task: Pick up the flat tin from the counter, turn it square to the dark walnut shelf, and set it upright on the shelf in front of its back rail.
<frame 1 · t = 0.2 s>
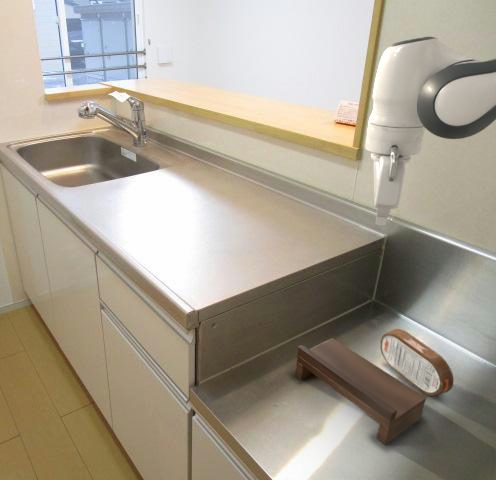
hand: (379, 215, 83), 31 cm above the worktop, tool pointing down, fingers open, 8 cm apart
shelf: (353, 396, 84), on the worktop
tin: (408, 378, 88), on the worktop
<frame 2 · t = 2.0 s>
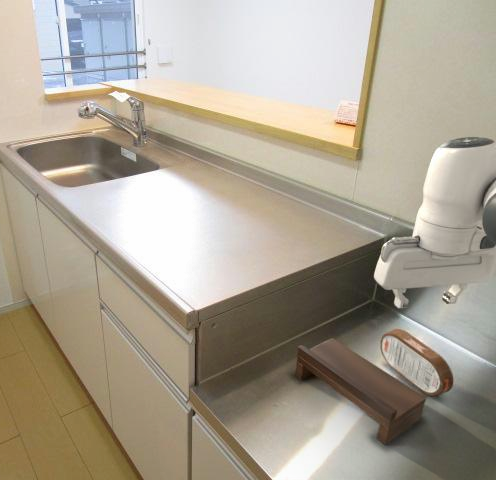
hand: (424, 304, 82), 17 cm above the worktop, tool pointing down, fingers open, 8 cm apart
nothing on the worktop moved.
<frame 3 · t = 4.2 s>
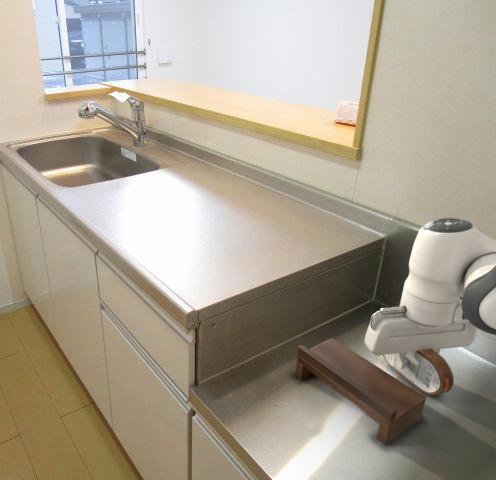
hand: (412, 365, 87), 3 cm above the worktop, tool pointing down, fingers closed on tin, 3 cm apart
tin: (408, 378, 88), on the worktop, touching gripper
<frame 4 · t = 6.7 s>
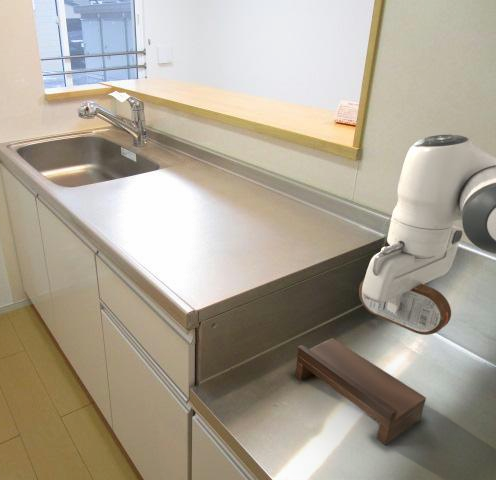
hand: (400, 307, 79), 18 cm above the worktop, tool pointing down, fingers closed on tin, 3 cm apart
tin: (396, 323, 81), point 14 cm above the worktop, touching gripper
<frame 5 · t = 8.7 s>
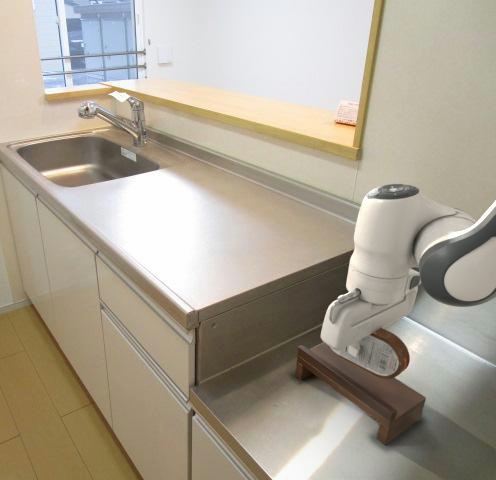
hand: (362, 349, 80), 11 cm above the worktop, tool pointing down, fingers closed on tin, 3 cm apart
tin: (358, 365, 81), point 7 cm above the worktop, touching gripper
when the fingers open (8 cm above the worktop, at t = 9.7 s): tin stays where it is, resting on shelf.
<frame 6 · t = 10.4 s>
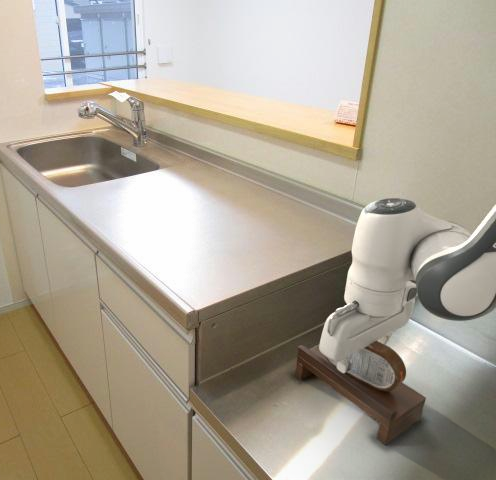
hand: (360, 360, 81), 8 cm above the worktop, tool pointing down, fingers open, 8 cm apart
tin: (356, 376, 82), point 5 cm above the worktop, touching shelf
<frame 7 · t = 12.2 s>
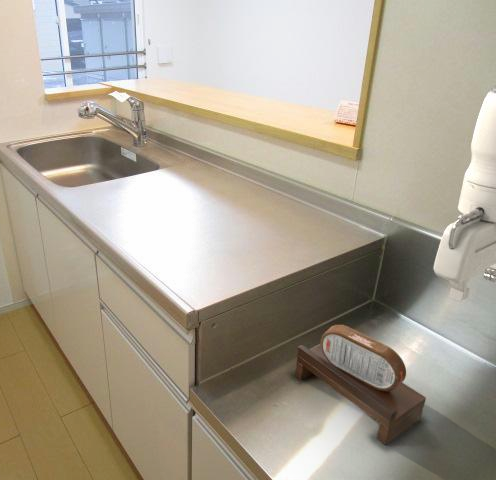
hand: (475, 288, 67), 27 cm above the worktop, tool pointing down, fingers open, 8 cm apart
nothing on the worktop moved.
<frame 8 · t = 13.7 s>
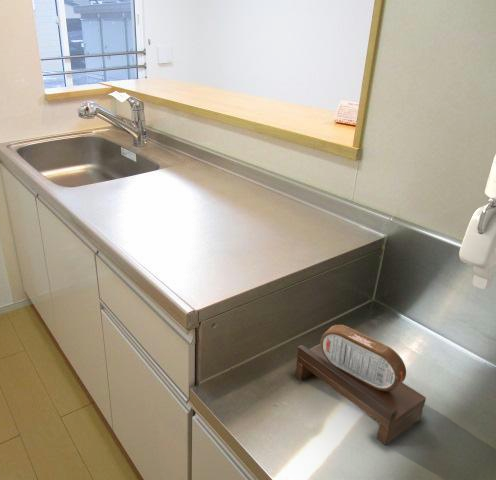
nothing on the worktop moved.
at the end: tin 0.3 cm off-centre on the shelf, point 4.8 cm above the shelf's base; tin tilted 0°; tin touching shelf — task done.
